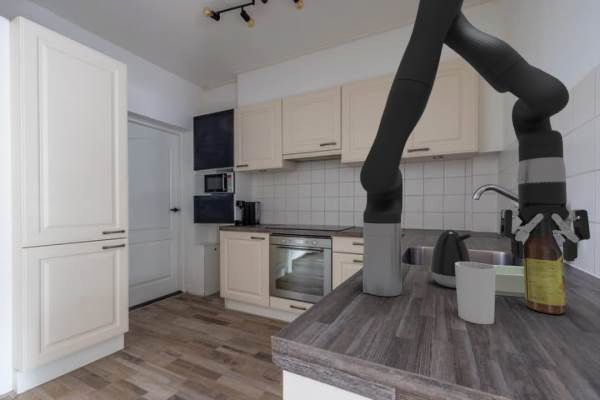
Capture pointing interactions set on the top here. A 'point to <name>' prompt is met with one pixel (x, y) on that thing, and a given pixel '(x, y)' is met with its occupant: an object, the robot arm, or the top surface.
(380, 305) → the top surface
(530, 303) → the sauce bottle
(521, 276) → the bin
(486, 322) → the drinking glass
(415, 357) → the top surface
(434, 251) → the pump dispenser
